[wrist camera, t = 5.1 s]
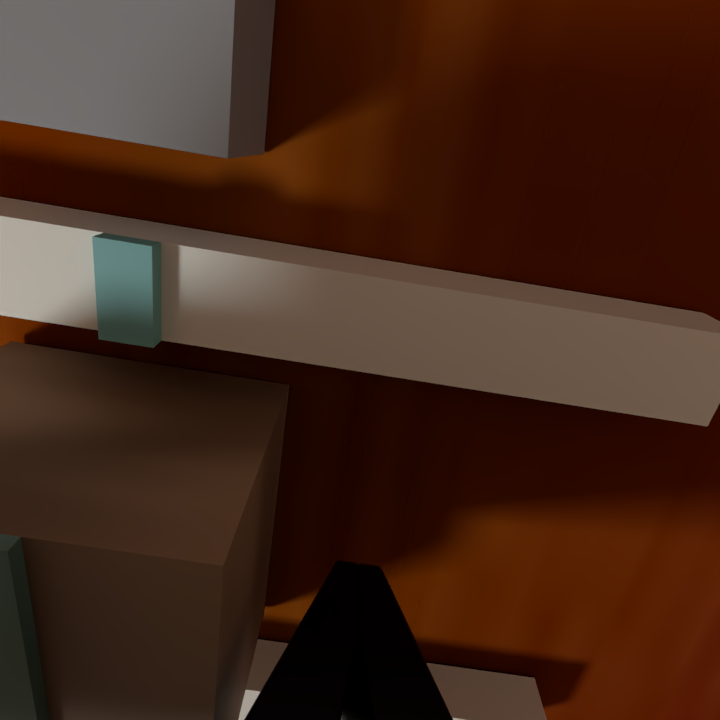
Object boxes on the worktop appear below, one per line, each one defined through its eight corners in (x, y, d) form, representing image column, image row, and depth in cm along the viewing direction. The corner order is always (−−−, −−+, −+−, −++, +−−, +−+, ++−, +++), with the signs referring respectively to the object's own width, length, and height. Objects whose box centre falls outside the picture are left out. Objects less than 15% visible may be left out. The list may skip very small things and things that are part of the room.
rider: (289, 384, 9) (217, 582, 5) (264, 614, 11) (201, 870, 7) (11, 341, 9) (-293, 508, 5) (45, 583, 11) (-140, 828, 7)
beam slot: (821, 59, 7) (1043, 19, 5) (480, 794, 14) (500, 919, 12) (-805, -239, 6) (-1498, -459, 4) (-272, 695, 14) (-403, 807, 11)
